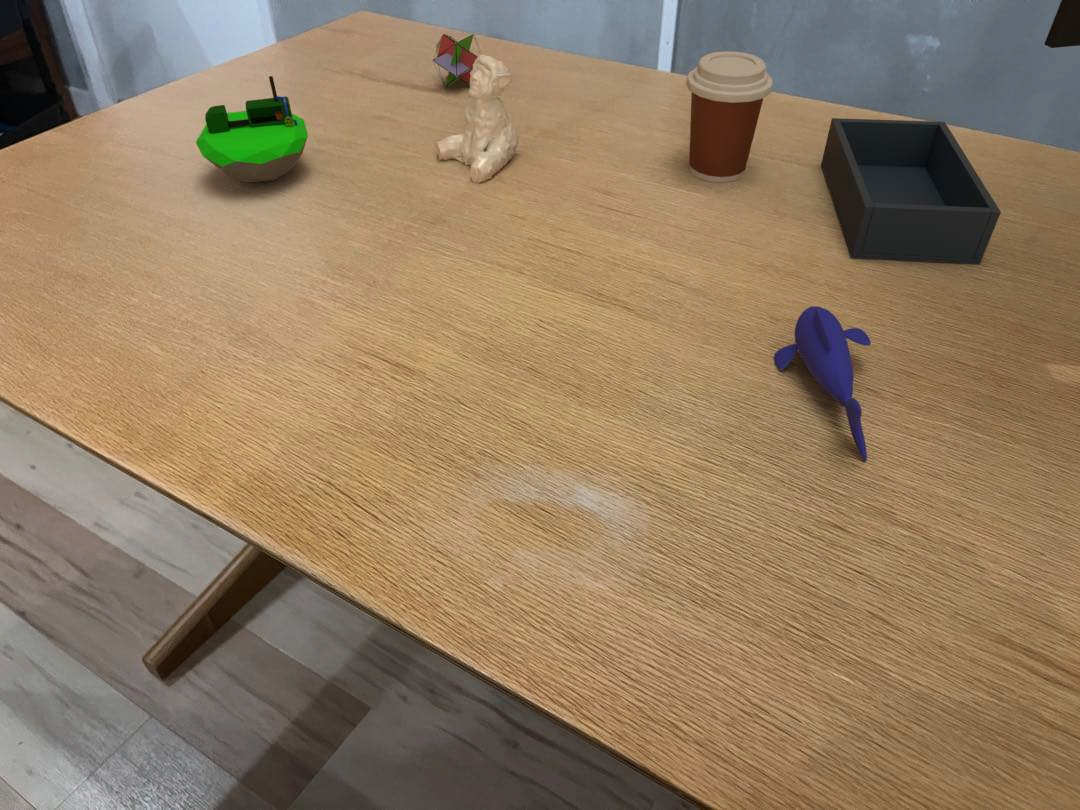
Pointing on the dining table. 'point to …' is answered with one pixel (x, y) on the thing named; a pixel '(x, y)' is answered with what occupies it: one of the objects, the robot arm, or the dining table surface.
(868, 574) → the dining table surface
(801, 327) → the fish toy
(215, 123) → the miniature floating island
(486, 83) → the seated clay statuette
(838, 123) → the bin
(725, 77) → the coffee cup
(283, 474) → the dining table surface
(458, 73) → the geometric puzzle
